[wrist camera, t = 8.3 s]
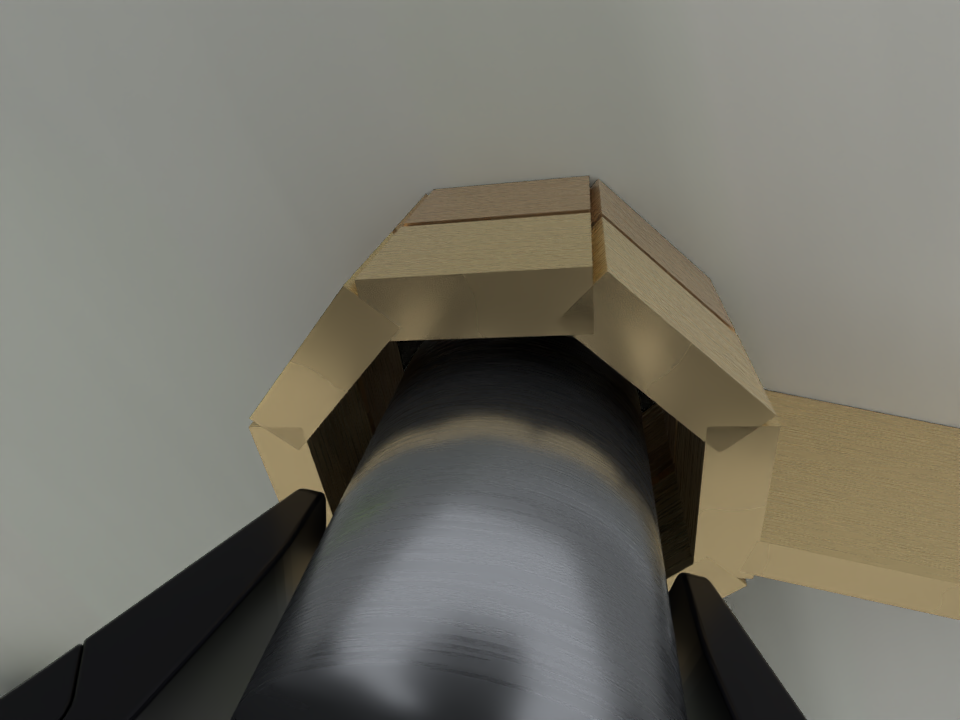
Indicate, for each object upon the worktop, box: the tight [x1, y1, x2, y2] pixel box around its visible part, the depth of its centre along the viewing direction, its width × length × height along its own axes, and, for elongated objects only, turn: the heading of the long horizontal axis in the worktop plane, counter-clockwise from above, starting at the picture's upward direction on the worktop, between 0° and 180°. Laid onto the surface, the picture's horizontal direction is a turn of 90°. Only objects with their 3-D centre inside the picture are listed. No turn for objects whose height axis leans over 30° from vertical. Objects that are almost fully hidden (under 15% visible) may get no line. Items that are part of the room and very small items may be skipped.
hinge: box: [249, 176, 960, 620], centre depth 13 cm, size 18×16×5 cm
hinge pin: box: [230, 335, 688, 720], centre depth 9 cm, size 5×5×7 cm
